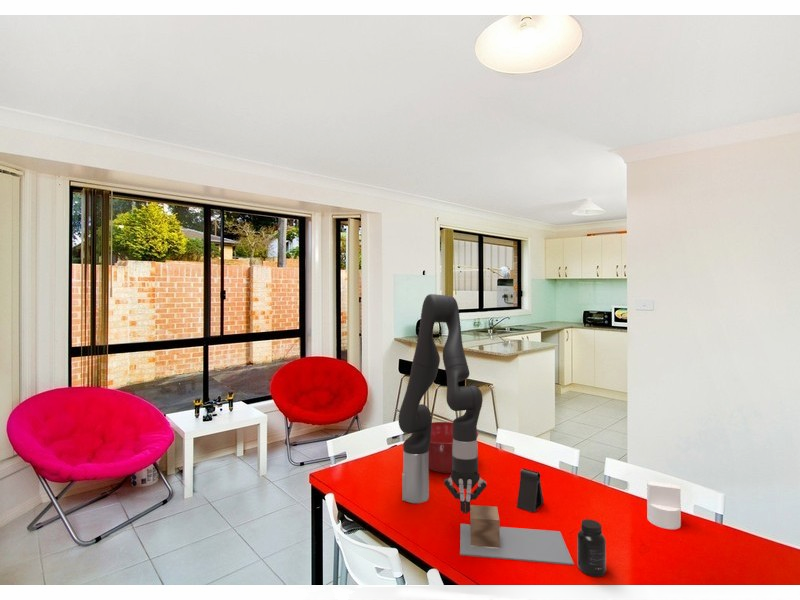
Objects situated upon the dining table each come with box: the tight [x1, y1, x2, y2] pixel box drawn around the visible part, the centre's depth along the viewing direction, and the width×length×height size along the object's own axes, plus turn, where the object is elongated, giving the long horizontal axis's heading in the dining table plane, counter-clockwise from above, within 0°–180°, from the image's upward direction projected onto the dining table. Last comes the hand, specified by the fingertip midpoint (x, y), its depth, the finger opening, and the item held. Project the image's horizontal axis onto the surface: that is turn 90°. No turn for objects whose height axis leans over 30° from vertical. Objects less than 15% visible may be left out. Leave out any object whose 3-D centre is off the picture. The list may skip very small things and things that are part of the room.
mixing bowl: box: [410, 421, 479, 474], centre depth 178 cm, size 28×28×16 cm
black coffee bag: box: [516, 468, 545, 514], centre depth 145 cm, size 9×6×12 cm, turn 140°
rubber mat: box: [459, 523, 575, 566], centre depth 122 cm, size 30×16×1 cm, turn 81°
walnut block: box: [469, 504, 500, 549], centre depth 123 cm, size 8×8×8 cm
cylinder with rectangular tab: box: [646, 481, 682, 530], centre depth 133 cm, size 9×9×12 cm
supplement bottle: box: [576, 518, 607, 578], centre depth 110 cm, size 7×7×12 cm
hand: (465, 512), depth 124 cm, fingers closed
